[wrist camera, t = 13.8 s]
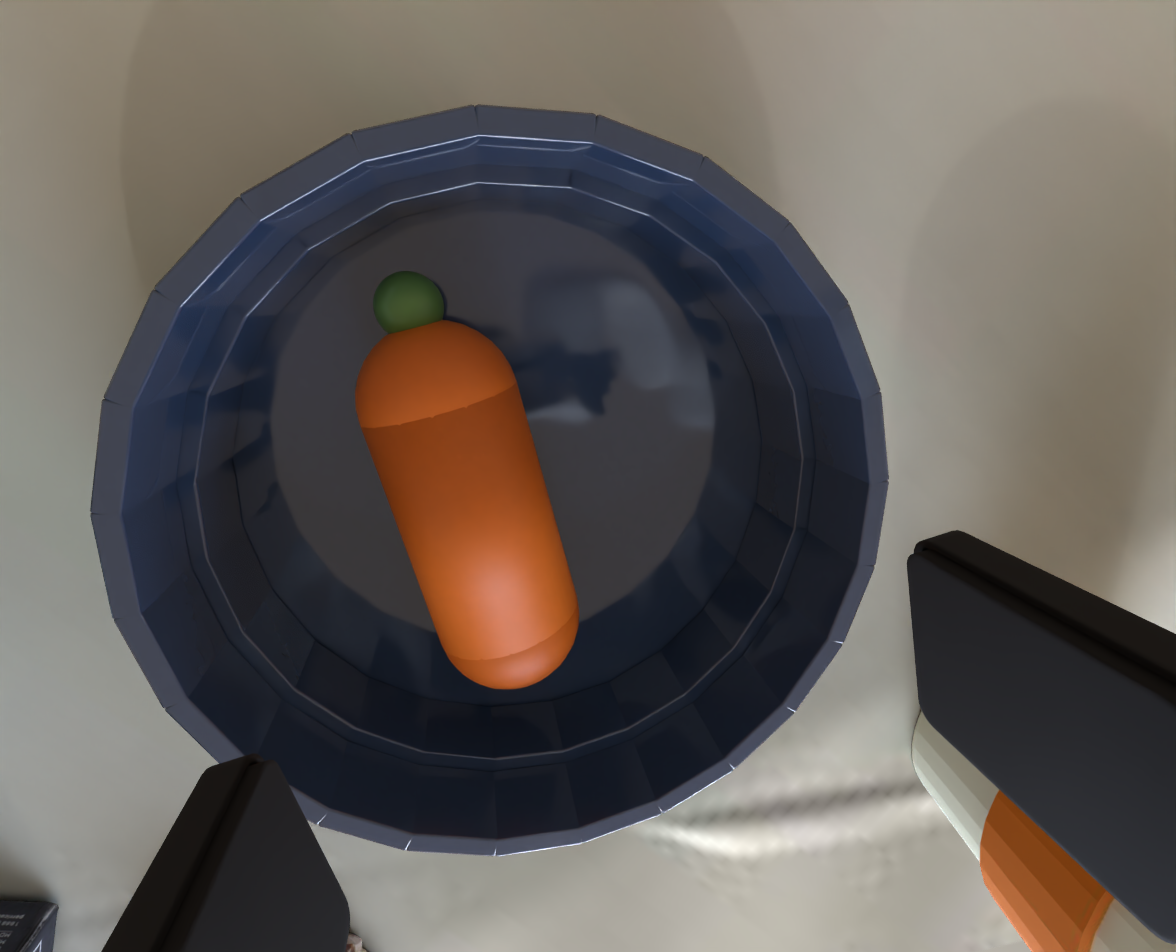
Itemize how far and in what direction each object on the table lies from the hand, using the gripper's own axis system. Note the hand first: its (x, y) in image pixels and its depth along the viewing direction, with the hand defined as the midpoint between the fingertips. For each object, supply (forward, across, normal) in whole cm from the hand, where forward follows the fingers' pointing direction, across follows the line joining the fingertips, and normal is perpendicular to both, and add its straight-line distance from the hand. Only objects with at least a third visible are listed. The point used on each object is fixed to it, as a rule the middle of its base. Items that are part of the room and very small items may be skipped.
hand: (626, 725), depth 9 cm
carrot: (+10, +2, 0) cm, 10 cm away
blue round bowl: (+13, +1, 0) cm, 13 cm away
